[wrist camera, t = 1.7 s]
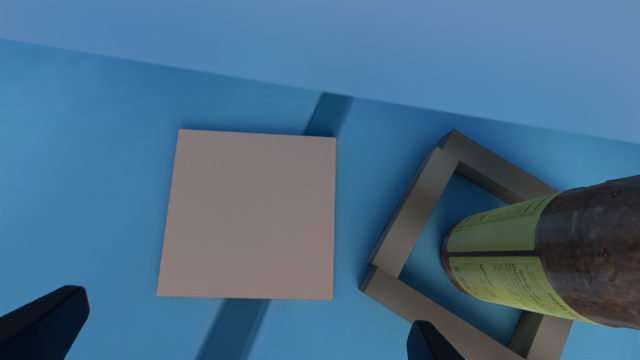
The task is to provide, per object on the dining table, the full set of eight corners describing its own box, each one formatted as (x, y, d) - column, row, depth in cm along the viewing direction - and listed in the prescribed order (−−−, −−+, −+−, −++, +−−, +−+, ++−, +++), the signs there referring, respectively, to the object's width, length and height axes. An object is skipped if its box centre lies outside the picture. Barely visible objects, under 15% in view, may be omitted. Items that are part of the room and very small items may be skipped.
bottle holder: (519, 392, 22) (541, 406, 20) (352, 285, 23) (357, 288, 21) (586, 224, 25) (610, 222, 24) (436, 134, 26) (448, 125, 24)
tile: (331, 298, 23) (332, 299, 22) (161, 294, 22) (156, 296, 21) (334, 140, 25) (336, 137, 25) (182, 132, 25) (178, 128, 24)
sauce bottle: (516, 300, 24) (1483, 527, 4) (436, 295, 23) (1108, 519, 4) (510, 214, 25) (1223, 99, 6) (435, 208, 25) (927, 64, 5)
